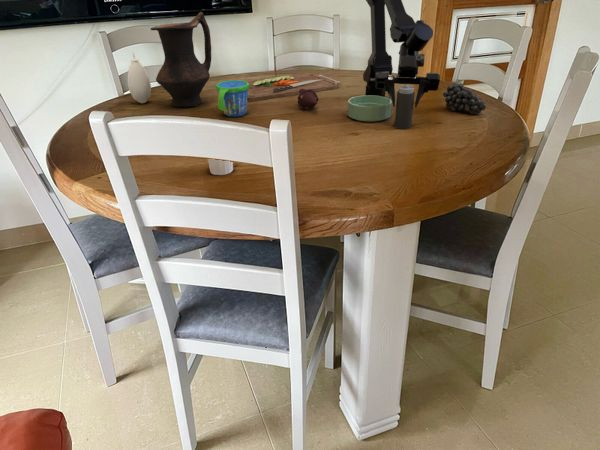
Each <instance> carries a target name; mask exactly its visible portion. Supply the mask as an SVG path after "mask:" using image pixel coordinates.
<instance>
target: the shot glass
mask: <svg viewBox="0 0 600 450" xmlns="http://www.w3.org/2000/svg"><path fill="white" fill-rule="evenodd" d="M207 163H208V164H207V165H208V168H209V173H210V174H212V175H215V176H225V175H228V174H231V173H232V172H233V171H234V161H233V162H230V161H222V160H215V159H207Z"/></svg>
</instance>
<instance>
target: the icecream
mask: <svg viewBox="0 0 600 450" xmlns="http://www.w3.org/2000/svg"><path fill="white" fill-rule="evenodd" d="M319 100H320V99H319V96H318V95H317V92H314V91H312V90H310V89H309V90H305V89H300V90H299V94H298V96H297V101H296V103H297V105H299V107H300V108H301V109H303V110H305V111H310V110H313V109H315V107H316V106H317V105H318V101H319Z"/></svg>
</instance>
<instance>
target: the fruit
mask: <svg viewBox="0 0 600 450" xmlns="http://www.w3.org/2000/svg"><path fill="white" fill-rule="evenodd" d="M442 97H444V102H445V106H446V107H447V108H450V110H451V112H456V111H458V112H462V111H466V112H470V114H471V115H475V114H480V113H482V111H485V110H486V109H487V105H486V103H485V101H483V99H481V98H480V97H479V96H477V95H476V94H475V93H473V90H472V89H470V88H469V89H467V88H466V87H464V84H463V83H458V82H455V83H453V84H452V85H448V86H447V88H446V91H444V92H443V93H442Z"/></svg>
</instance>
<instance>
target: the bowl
mask: <svg viewBox="0 0 600 450" xmlns="http://www.w3.org/2000/svg"><path fill="white" fill-rule="evenodd" d="M386 97H387V96H386ZM386 97H382V96H375V95H356V96H352V97H350V98H348V99H347V116H348V117H349V118H351V119H353V120H356V121H361V122H380V121H383V120H386V119H389V118H391V116H392V109H393V104H392V101H391V98H390V97H388V98H386Z"/></svg>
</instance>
